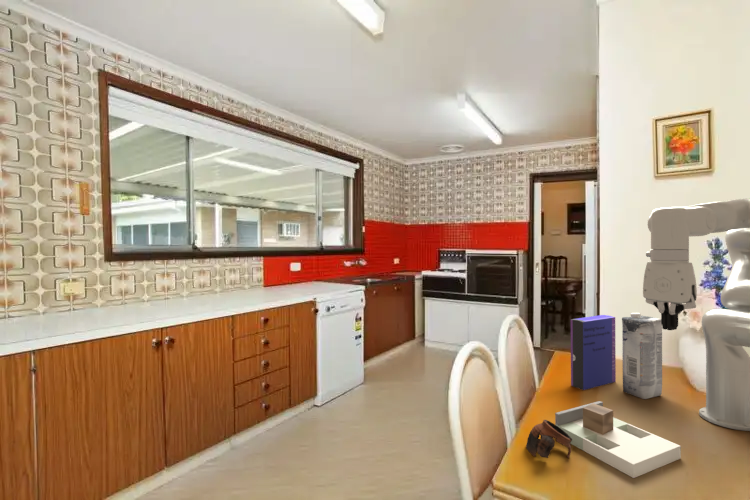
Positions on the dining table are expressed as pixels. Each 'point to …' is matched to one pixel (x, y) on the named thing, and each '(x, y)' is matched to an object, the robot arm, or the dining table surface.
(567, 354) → the dining table surface
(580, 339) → the blue rectangular box
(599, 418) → the block
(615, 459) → the tray
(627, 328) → the juice carton
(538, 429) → the brown curved piece
